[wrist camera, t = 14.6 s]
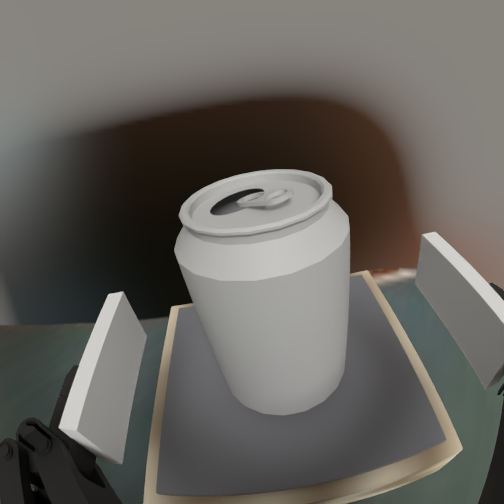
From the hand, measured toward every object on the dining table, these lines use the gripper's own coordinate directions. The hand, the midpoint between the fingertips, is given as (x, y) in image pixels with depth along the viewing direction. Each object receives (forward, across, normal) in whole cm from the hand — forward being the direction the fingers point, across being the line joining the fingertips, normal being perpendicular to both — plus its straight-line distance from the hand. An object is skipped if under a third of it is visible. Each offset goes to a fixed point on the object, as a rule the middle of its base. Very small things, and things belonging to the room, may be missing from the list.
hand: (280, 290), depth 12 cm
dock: (+2, 0, -13) cm, 13 cm away
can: (+2, 0, -8) cm, 9 cm away
